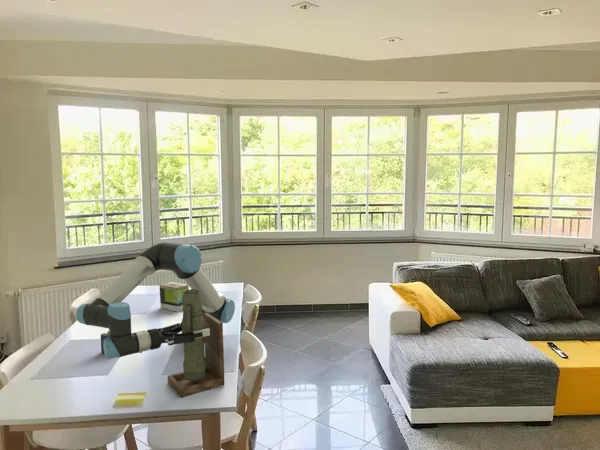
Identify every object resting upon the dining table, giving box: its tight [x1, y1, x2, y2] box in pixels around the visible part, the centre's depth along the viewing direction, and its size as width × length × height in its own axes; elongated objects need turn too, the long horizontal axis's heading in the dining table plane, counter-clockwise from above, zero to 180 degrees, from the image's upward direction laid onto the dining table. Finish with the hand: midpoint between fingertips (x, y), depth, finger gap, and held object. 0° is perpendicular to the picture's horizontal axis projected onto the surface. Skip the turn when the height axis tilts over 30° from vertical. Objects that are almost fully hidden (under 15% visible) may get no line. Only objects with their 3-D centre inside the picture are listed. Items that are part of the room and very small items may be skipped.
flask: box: [100, 330, 109, 355], centre depth 224 cm, size 9×3×11 cm, turn 78°
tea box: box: [159, 281, 190, 313], centre depth 289 cm, size 15×10×15 cm, turn 58°
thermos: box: [181, 288, 206, 381], centre depth 191 cm, size 9×12×35 cm
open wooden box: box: [167, 313, 226, 399], centre depth 192 cm, size 18×15×26 cm
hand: (204, 328), depth 193 cm, fingers closed on thermos, 9 cm apart
